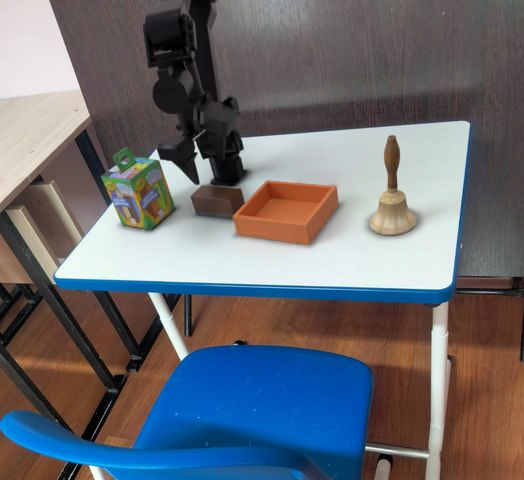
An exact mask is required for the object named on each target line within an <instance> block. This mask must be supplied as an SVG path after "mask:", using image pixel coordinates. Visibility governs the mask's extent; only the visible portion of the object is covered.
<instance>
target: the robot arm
mask: <svg viewBox="0 0 524 480" xmlns="http://www.w3.org/2000/svg"><path fill="white" fill-rule="evenodd" d="M218 2H219V1H218V0H160V1H159V2H158V4H156V5H154V6H152V7H150V8H149V9H148V11H147V13H146V15H145V17H144V22H143V24H142V31H143V32H142V33H143V39H144V47H145V54H146V62H147V67H148V69H152V68H157V70H156V74H157V79H156V81H155V82H154V85H153V87H152V92H151V93H152V95H151V97H152V100H153V102H154V104H155V106H156V107H157V108H158V109H159V110H160V111H162V112H163V113H165V114H168V115H176V116H177V119H178V122H177V123H176V124H175V129H176V131H179V132H181V131H182V134H180V135H178V134H177V135H174V134H169V135H167V136H166V137H165V138H164V139H163V140H161V141H160V142H159V143H158V144H157V146H156V152H157V155H158V158H159V161H166V162H171V163H172V164H174V165H175V166H176V167H177V168H178V169H179V170H180V171H181V172H182V173H183V174H184V175H185V176H186V177H187V179H189V180H190V181H191V182H192V184H193V185H194V186H195V185H196V186H199V185H200V184H201V182H200V176H199V172H198V168H197V164H196V158H197V156H198V154H200V156H201V159H202V161H204V160H207V159H208V162H209V165H210V169H211V173H212V176H213V178H212V179H211V180H210V184H211V185H220V186H228V187H230V186H231V187H234V186H235V185H236V184H237V183H239V182H240V180H241V179H243V178H244V177H245V175H247V173H248V170H247V169H245V168H244V164H243V160H242V156H240V154H241V152H243V151H244V150H245V147H244V143H243V139H242V136H241V133H240V132H239V130H238V129H237V119H239V118H240V117H241V115H242V114H241V111H240V106H239V102H238V99H237V97H235V96H233V95H230V94H229V95H228V96H227V97H225V98H224V100H222V95H221V88H220V81H219V80H220V79H219V73H218V67H217V65H218V64H217V60H216V59H217V58H216V52H215V45H214V37H213V32H212V31H213V27H214V25H215V21H216V19H217V16H218V10H217V3H218ZM195 144H196V145H195ZM196 147H197V149H198V152H197V151H196Z"/></svg>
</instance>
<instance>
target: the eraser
mask: <svg viewBox="0 0 524 480" xmlns="http://www.w3.org/2000/svg"><path fill="white" fill-rule="evenodd" d="M189 197H190V200H191V203H192V207H193V209H194V212H195V215H196V216H200V217H211V218H217V219H225V220H232V221H234V220H233V215H234V214H235V213H236V212H237V211H238V210H239V209H240V208H241V207H242V206H243V205H244V204H245V203H246V201H245V197H244V192H243V189H242V188H240V187H230V186H228V187H227V186H217V185H209V184H208V185H206V184H201V185H200V186H199V187H198V188H197V189H196V190H195V191H193V193H192V194H191V195H190V196H189Z"/></svg>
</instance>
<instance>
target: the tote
mask: <svg viewBox="0 0 524 480" xmlns="http://www.w3.org/2000/svg"><path fill="white" fill-rule="evenodd" d="M339 206H340V202H339V194H338V186H337V185H329V184H328V185H327V184H314V183H303V182H302V183H301V182H292V181H281V180H279V181H278V180H265V181H264V182H263V183H262V184H261V186H259V188H257V190H256V191H255V192H254V193H253V194H252V195H250V197H249V198H248V199H247V200H246V201H245V204H244V205H243V206H242V207H241V208H240V209H239V210H238V211H237V212H236V213H235V214H234V215H233V220H232V221H233V225H234V228H235V230H236V235H238V236H244V237H252V238H258V239H264V240H273V241H279V242H286V243H293V244H298V245H299V244H300V245H307V246H310V244H311V243H312V242H313V240H314V239H315V237H316V236H317V235H318V234H319V232H320V231H321V230H322V228H324V226H325V224H326V223H327V222H328V220H329V219H330V218H331V216H332V215H333V214H334V212H335V211H336V210H337V209H338V207H339Z"/></svg>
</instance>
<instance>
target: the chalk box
mask: <svg viewBox="0 0 524 480" xmlns="http://www.w3.org/2000/svg"><path fill="white" fill-rule="evenodd" d="M125 156H126V157H125ZM123 157H125V158H124V159H123V160H122V158H123ZM112 158H113V161H114V163H115V165H114V166H112V167H111V168H110V169H108V170H107V171H105V172H104V173H103V174H101V176H100V178H101V181H102V182H103V185H104V186H105V190H106V192H107V193H108V196H109V198H110V200H111V202H112V204H113V207H114V210H115V211H116V214H117V216H118V218H119V220H120V223H121V225H122V226H127V227H134V228H139V229H145V230H150V231H151V230H152V229H154V228H155V227H156V226H157V225H158V224H159V223H160V222H162V220H164V219H166V217H168V216H169V215H170V214H171V213H172V212H173V211H175V210H177V209H176V206H175V202H174V199H173V197H172V194H171V191H170V187H169V185H168V182H167V179H166V176H165V173H164V170H163V167H162V164H161V160H160V159H153V158H147V157H143V156H142V157H141V156H139V157H134V155H133V153H132V151H131V150H130V148H129V147H128V146H125V147H124V148H122V149H121V150H120V151H118V152H117V153H115V155H113V156H112Z"/></svg>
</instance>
